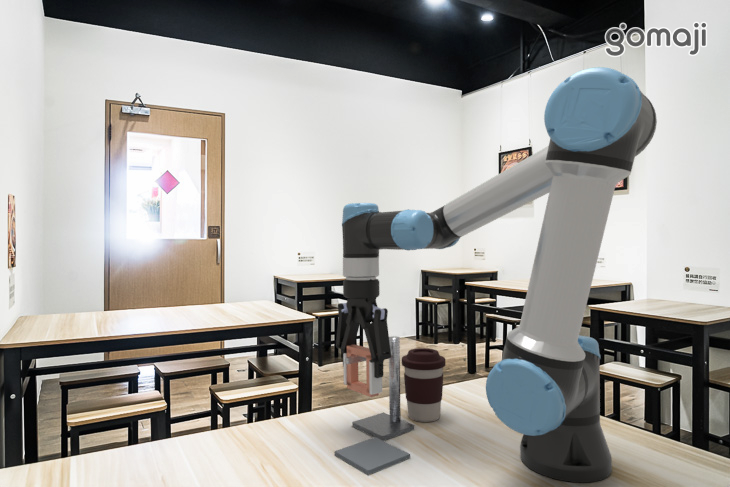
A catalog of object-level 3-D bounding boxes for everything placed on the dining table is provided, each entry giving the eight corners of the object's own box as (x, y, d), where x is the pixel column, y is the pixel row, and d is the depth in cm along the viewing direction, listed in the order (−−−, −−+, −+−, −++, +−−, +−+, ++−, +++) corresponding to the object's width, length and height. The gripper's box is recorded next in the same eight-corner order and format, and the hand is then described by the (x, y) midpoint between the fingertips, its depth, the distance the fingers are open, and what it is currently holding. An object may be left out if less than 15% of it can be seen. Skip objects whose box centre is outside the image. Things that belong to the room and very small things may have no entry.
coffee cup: (444, 409, 113) (443, 346, 113) (447, 425, 103) (446, 356, 103) (402, 408, 114) (401, 346, 114) (401, 424, 104) (400, 356, 104)
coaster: (410, 458, 88) (410, 453, 88) (368, 475, 82) (368, 470, 82) (375, 441, 96) (375, 437, 96) (334, 455, 90) (334, 451, 90)
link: (378, 395, 96) (378, 350, 96) (371, 397, 95) (370, 352, 95) (354, 386, 103) (354, 344, 103) (347, 388, 101) (346, 345, 101)
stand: (415, 429, 101) (414, 340, 101) (362, 448, 93) (361, 350, 93) (384, 416, 109) (383, 333, 109) (333, 432, 100) (332, 342, 100)
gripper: (409, 279, 93) (410, 396, 93) (345, 274, 109) (347, 374, 109) (380, 282, 88) (381, 405, 89) (318, 276, 105) (319, 380, 105)
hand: (362, 387), depth 99 cm, fingers closed on link, 8 cm apart
